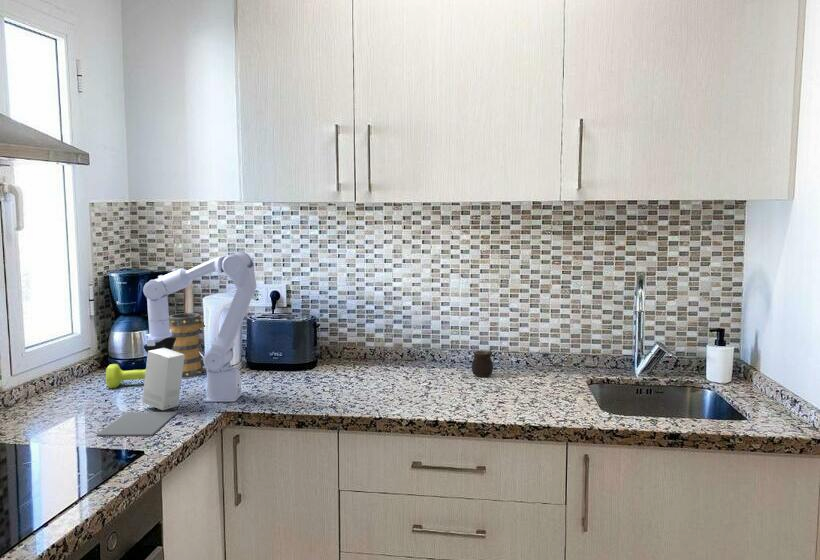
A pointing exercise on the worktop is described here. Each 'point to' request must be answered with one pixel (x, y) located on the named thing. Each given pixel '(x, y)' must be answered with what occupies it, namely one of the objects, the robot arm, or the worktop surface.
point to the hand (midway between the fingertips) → (161, 364)
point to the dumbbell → (121, 375)
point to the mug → (188, 341)
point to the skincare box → (163, 378)
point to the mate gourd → (482, 363)
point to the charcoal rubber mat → (138, 424)
